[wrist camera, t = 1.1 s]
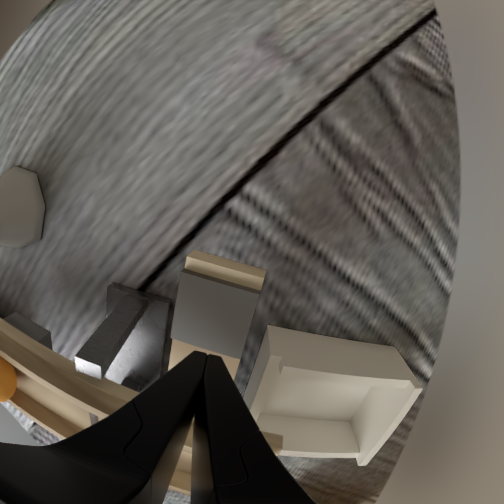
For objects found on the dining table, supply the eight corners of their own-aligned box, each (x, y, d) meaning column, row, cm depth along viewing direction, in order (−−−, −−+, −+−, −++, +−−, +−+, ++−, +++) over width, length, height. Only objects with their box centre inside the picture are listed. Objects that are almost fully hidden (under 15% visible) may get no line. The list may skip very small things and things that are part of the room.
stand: (159, 392, 25) (132, 469, 16) (109, 376, 25) (70, 445, 16) (171, 299, 22) (130, 375, 13) (111, 282, 22) (49, 344, 13)
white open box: (351, 421, 26) (365, 465, 21) (239, 409, 25) (236, 459, 20) (394, 346, 24) (423, 388, 18) (267, 324, 23) (272, 373, 17)
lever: (258, 463, 18) (248, 527, 12) (13, 357, 19) (-27, 390, 13) (340, 276, 14) (369, 339, 8) (2, 182, 15) (-63, 193, 9)
